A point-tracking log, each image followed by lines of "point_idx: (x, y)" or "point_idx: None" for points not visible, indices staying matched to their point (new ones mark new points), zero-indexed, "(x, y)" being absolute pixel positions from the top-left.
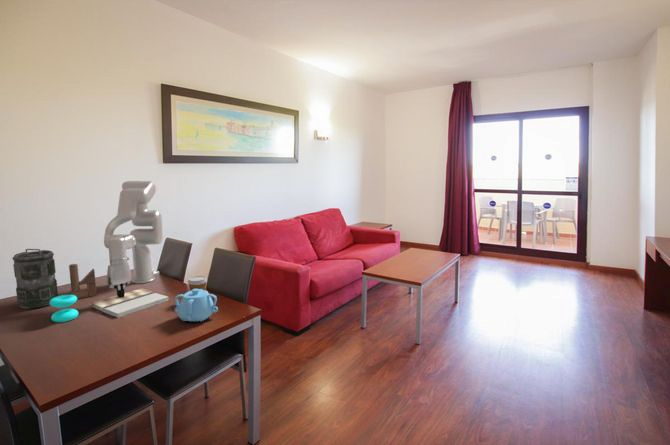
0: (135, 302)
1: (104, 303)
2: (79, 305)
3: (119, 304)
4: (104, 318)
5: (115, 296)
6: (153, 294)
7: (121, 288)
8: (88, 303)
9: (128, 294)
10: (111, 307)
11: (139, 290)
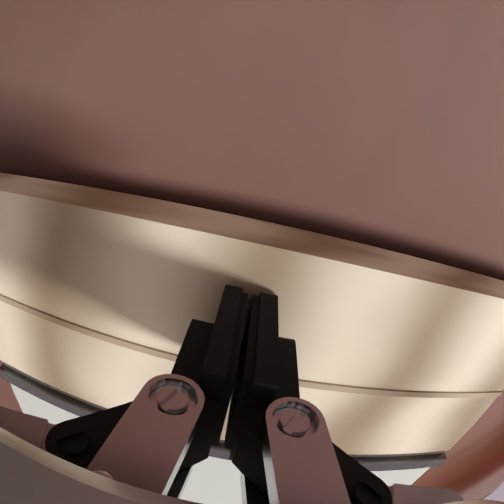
0: (198, 483)
1: (21, 311)
2: (4, 5)
3: None
4: (11, 398)
5: (206, 254)
6: (397, 476)
7: (234, 449)
8: (52, 7)
9: (353, 349)
10: (43, 405)
11: (498, 343)
